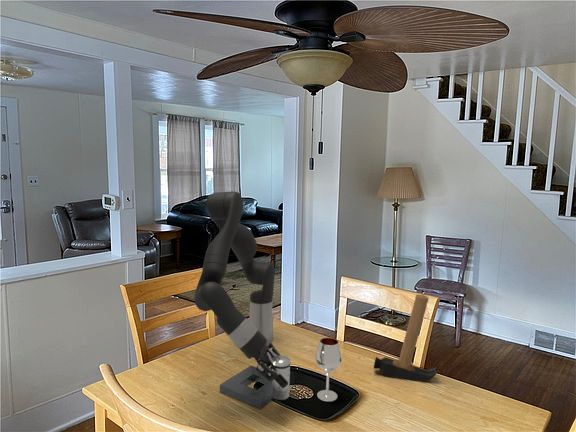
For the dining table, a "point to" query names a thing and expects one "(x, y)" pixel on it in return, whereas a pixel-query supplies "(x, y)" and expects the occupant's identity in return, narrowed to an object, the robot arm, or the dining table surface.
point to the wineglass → (328, 364)
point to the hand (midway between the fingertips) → (287, 380)
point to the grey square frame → (248, 388)
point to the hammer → (408, 349)
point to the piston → (284, 370)
